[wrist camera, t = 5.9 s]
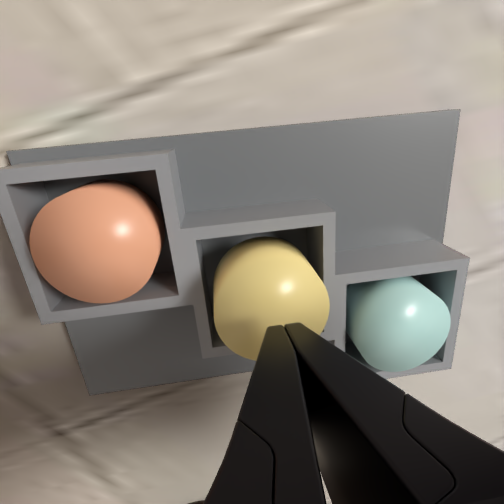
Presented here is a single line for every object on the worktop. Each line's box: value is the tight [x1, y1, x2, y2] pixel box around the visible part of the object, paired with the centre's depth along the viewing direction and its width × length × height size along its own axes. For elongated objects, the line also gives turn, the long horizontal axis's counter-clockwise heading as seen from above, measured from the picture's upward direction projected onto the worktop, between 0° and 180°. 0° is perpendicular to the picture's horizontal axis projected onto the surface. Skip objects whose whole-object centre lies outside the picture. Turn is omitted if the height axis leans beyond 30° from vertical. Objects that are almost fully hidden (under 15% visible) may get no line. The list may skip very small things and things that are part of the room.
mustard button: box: [213, 236, 330, 361], centre depth 11 cm, size 3×3×2 cm
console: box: [0, 109, 470, 395], centre depth 12 cm, size 15×10×2 cm, turn 95°
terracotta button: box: [29, 179, 165, 304], centre depth 10 cm, size 3×3×2 cm
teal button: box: [346, 276, 451, 372], centre depth 13 cm, size 3×3×2 cm
